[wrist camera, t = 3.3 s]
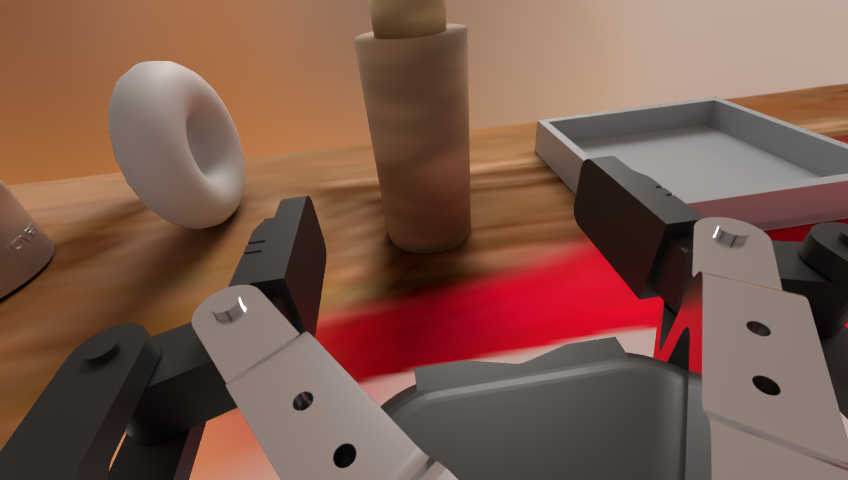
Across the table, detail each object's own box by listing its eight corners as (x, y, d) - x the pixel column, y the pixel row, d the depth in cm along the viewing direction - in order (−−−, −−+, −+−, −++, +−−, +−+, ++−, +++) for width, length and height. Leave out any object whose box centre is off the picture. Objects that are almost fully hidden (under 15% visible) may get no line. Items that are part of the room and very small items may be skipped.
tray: (628, 251, 19) (640, 210, 18) (534, 151, 30) (537, 120, 29) (887, 212, 20) (919, 170, 18) (704, 128, 31) (716, 96, 29)
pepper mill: (390, 259, 20) (343, 2, 13) (386, 212, 24) (348, -5, 17) (479, 246, 21) (479, -13, 14) (461, 201, 25) (454, -17, 18)
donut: (222, 186, 30) (159, 49, 24) (265, 181, 30) (212, 43, 24) (162, 265, 22) (45, 89, 16) (221, 258, 22) (126, 79, 16)
